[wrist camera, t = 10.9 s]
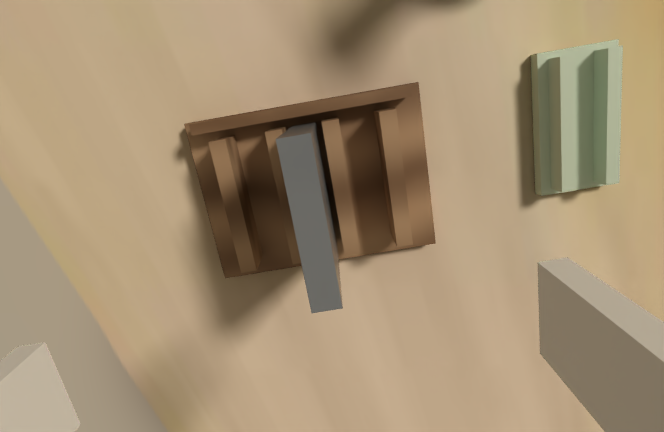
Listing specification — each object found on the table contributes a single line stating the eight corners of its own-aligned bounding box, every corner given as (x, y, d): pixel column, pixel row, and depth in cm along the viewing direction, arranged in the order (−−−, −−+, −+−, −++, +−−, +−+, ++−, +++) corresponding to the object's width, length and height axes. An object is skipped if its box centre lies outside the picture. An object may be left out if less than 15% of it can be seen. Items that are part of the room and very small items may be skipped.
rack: (189, 122, 32) (168, 126, 28) (414, 82, 32) (428, 80, 27) (228, 272, 36) (215, 295, 31) (432, 238, 35) (446, 257, 31)
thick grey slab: (292, 125, 31) (275, 139, 21) (315, 121, 31) (310, 132, 20) (316, 246, 34) (311, 313, 23) (337, 243, 34) (342, 308, 23)
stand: (530, 55, 31) (548, 51, 29) (609, 41, 31) (634, 35, 28) (535, 193, 34) (551, 200, 32) (606, 181, 34) (629, 187, 31)
